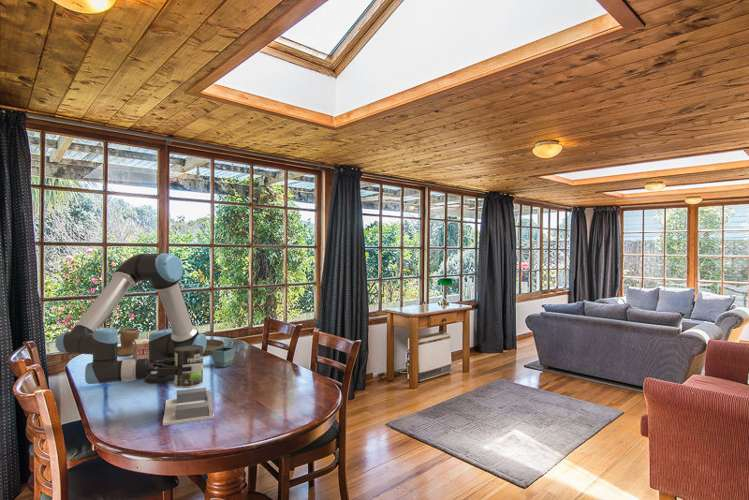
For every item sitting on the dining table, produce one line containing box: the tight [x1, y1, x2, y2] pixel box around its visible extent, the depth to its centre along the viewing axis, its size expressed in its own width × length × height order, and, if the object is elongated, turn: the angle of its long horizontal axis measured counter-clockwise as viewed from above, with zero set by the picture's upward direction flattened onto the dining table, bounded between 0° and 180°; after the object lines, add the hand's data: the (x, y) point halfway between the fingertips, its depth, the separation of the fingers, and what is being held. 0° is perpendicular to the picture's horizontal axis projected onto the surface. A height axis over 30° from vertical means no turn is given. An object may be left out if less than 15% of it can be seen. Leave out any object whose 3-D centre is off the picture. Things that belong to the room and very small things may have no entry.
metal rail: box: [206, 389, 214, 416], centre depth 170 cm, size 2×24×2 cm, turn 23°
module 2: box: [175, 402, 208, 420], centre depth 159 cm, size 11×5×4 cm, turn 113°
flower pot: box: [211, 346, 236, 368], centre depth 228 cm, size 9×9×9 cm
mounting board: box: [162, 396, 215, 427], centre depth 167 cm, size 17×25×1 cm
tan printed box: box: [132, 338, 149, 363], centre depth 236 cm, size 21×6×12 cm, turn 34°
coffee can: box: [173, 345, 204, 389], centre depth 166 cm, size 10×10×14 cm
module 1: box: [176, 387, 207, 403], centre depth 175 cm, size 11×5×4 cm, turn 113°
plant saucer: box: [203, 338, 226, 357], centre depth 259 cm, size 31×31×5 cm
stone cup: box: [117, 327, 140, 356], centre depth 253 cm, size 15×12×15 cm
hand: (200, 363), depth 168 cm, fingers closed on coffee can, 10 cm apart
